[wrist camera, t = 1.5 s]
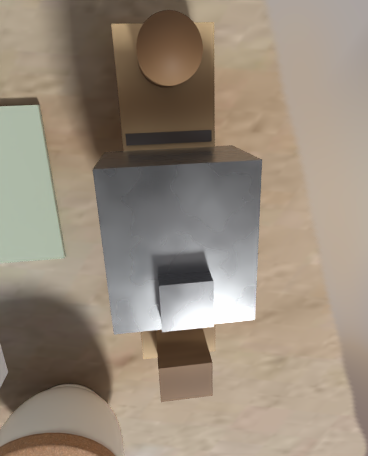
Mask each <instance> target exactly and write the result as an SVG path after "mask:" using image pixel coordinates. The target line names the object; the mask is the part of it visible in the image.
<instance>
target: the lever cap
mask: <svg viewBox="0 0 368 456" xmlns="http://www.w3.org/2000/svg"><path fill="white" fill-rule="evenodd" d="M261 171H262V159H259V158H257V157H255V156H253V155H251V154H249V153H247V152H245V151H243V150H241V149H238V148H236V147H234V146H213V147H194V148H174V149H155V150H136V151H117V152H104V154H103V155H102V157H101V158H100V159H99V161H98V162H97V164H96V165H95V167H94V168H93V176H94V183H95V191H96V199H97V207H98V214H99V222H100V230H101V238H102V245H103V253H104V261H105V269H106V276H107V284H108V292H109V300H110V307H111V315H112V323H113V331H114V334H123V333H133V332H143V331H152V330H162V332H168V331H178V330H187V329H197V328H206V327H214V324H219V323H229V322H238V321H248V320H255V307H256V284H257V262H258V239H259V217H260V194H261Z"/></svg>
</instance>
